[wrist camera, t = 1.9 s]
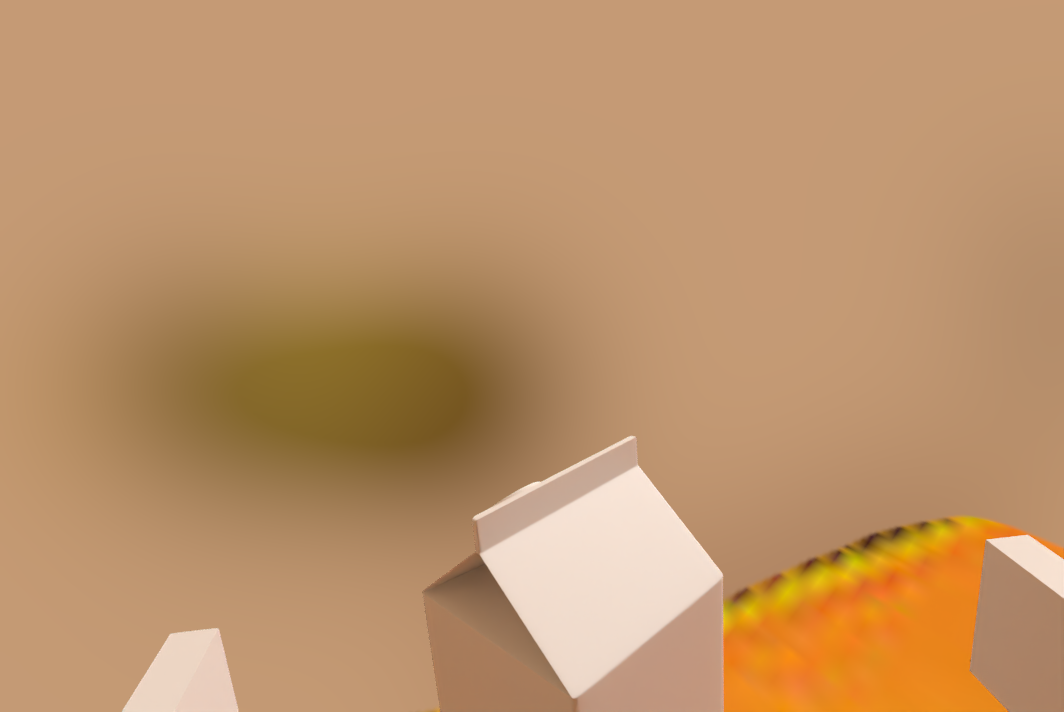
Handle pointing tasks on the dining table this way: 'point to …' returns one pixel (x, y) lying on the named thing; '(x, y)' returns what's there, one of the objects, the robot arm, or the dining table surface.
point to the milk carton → (580, 601)
